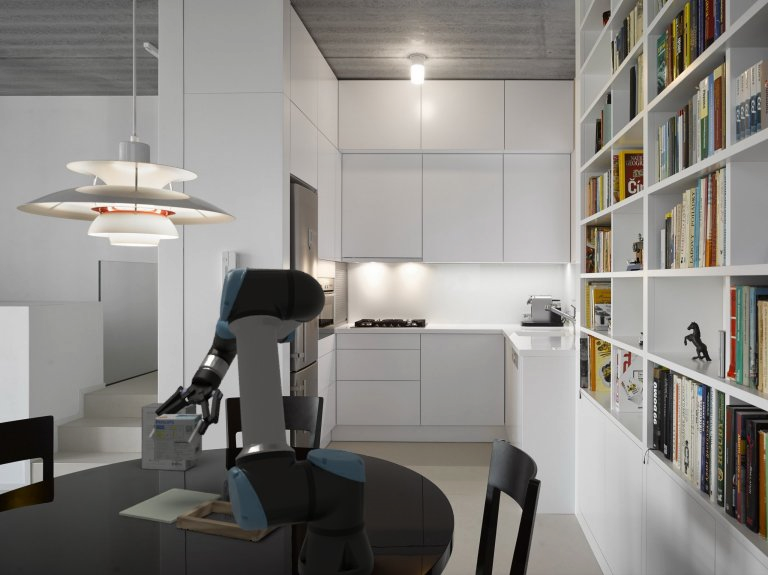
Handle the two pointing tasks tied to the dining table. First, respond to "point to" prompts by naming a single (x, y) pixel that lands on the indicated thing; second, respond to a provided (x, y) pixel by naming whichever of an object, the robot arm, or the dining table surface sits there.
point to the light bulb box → (176, 437)
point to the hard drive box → (148, 444)
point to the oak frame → (217, 522)
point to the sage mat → (168, 505)
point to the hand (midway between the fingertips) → (171, 442)
